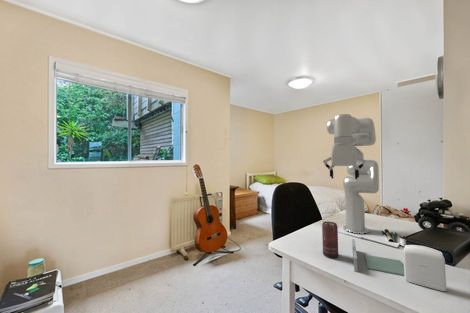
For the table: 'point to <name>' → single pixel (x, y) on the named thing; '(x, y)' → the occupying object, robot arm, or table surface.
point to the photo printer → (424, 267)
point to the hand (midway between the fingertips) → (344, 178)
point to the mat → (384, 265)
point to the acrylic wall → (354, 255)
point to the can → (330, 239)
